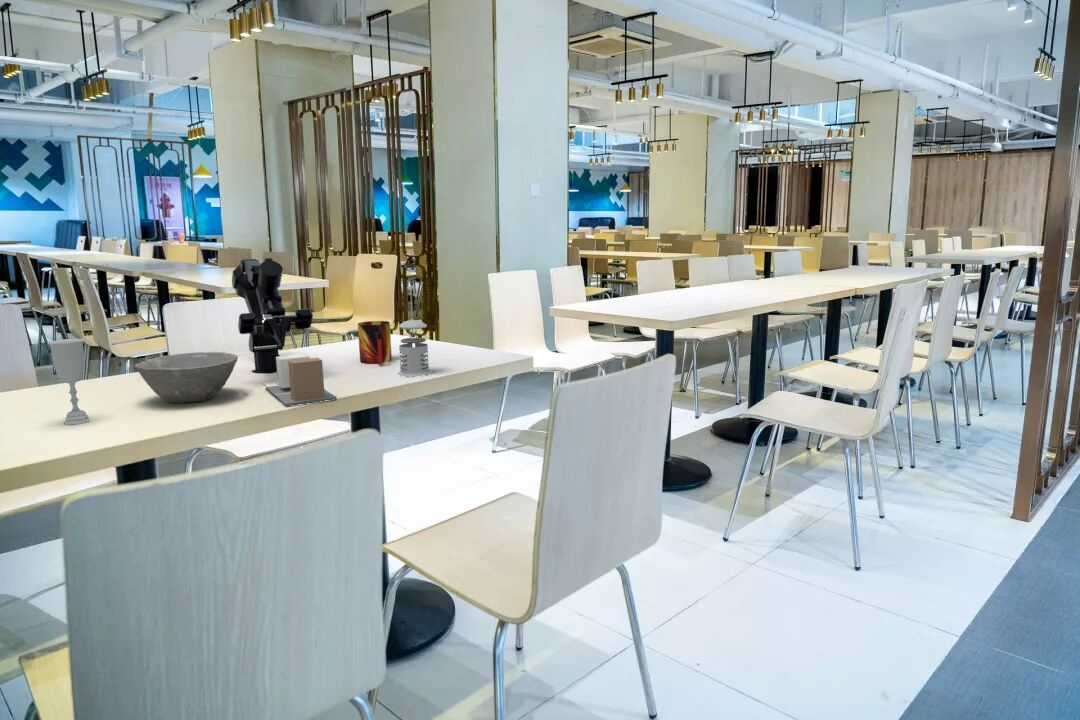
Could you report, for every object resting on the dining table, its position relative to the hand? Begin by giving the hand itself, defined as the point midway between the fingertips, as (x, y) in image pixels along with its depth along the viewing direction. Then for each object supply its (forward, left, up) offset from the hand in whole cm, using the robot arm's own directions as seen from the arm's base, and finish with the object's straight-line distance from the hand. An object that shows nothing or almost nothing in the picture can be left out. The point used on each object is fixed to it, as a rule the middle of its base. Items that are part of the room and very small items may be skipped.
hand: (282, 345), depth 197 cm
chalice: (-21, -44, -11) cm, 50 cm away
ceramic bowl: (-12, -20, -11) cm, 26 cm away
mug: (+8, +35, -11) cm, 38 cm away
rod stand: (+11, -10, -11) cm, 18 cm away
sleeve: (+8, -7, -9) cm, 14 cm away
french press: (+27, +23, -11) cm, 37 cm away
